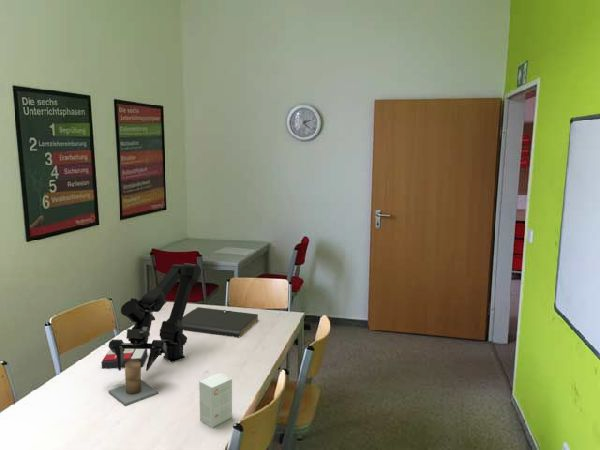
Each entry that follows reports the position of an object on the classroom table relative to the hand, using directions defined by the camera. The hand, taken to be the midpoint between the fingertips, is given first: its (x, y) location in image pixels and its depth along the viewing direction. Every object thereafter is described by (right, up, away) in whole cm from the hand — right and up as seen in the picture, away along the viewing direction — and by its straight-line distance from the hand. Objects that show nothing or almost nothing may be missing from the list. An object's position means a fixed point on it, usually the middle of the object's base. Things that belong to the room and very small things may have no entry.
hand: (133, 370), depth 164 cm
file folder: (+17, +1, +69) cm, 71 cm away
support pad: (0, -8, +1) cm, 8 cm away
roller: (0, -7, +1) cm, 7 cm away
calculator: (-12, -5, +26) cm, 29 cm away
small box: (+30, -11, -13) cm, 35 cm away
